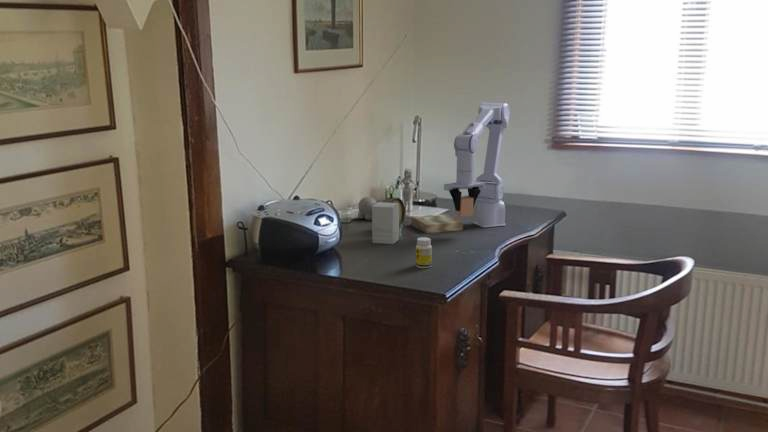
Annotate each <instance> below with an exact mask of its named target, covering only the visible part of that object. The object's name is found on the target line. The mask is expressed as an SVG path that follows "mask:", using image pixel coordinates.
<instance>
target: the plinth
mask: <svg viewBox="0 0 768 432" xmlns="http://www.w3.org/2000/svg"><path fill="white" fill-rule="evenodd" d="M463 224H464V221H462V220H460V219H458V218H456V217H454V216H452V215H449V214H448V213H439V214H429V215H418V216H417V215H416V216H411V217H410V225H411V226H412V227H414V228H416V229H418V230H420V231H421V232H423V233H425V234H436V233H443V232H445V233H447V232H455V231H463V230H464V229H463V228H464V225H463Z"/></svg>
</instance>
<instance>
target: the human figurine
mask: <svg viewBox="0 0 768 432" xmlns="http://www.w3.org/2000/svg"><path fill="white" fill-rule="evenodd" d="M403 175H404V177H403V178H402V180H401V181H400V182H399V183H398V184H397V185H396V186H394V187H393V188H394V190H396V189H397V188H398V187H399V186H400V185H401V184H403V185H404V186H403V189H402V197H403V201H404V202H403V204H404V208H405V216H406V217H410V214H411V211H410V210H411V199H412V193H413V189H412V188H411V187H410V184H411V183H412V184H413V185H414V187H416V188H417V189H418V190H419V192H420V193H423V190H422V189H421V188H420V187H419V186H418V184H416V183H415V181H414V180H413V179H412V178H413V177H412V170H411V168H404V174H403ZM407 205H408V206H407ZM407 212H408V213H407Z"/></svg>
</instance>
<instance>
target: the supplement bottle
mask: <svg viewBox="0 0 768 432" xmlns="http://www.w3.org/2000/svg"><path fill="white" fill-rule="evenodd" d="M431 240H432V239H431V238H429V237H424V236H423V237H418V238H417V239H416V245H415V266H416V268H419V269H428V268H429V267H430V268H431V267H432V266H433V264H432V263H433V259H432V257H433V256H432V255H433V254H432V253H433V247H432V246H433V245H431V242H432V241H431Z"/></svg>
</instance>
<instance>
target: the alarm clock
mask: <svg viewBox="0 0 768 432" xmlns="http://www.w3.org/2000/svg"><path fill="white" fill-rule="evenodd" d="M391 188H392V192H390V190H391ZM394 188H395V187H394V186H393V185H391V186H389V188H388V194H389V197H386V198H384V200H382V201H383V202H386V203H399V229H402V227H401V226H402V225H403V223H404V220H405V216H406V215H405V208H404V202H403V200H402V199H401V198H399V197H394V195H393V194H394V191H395V189H394Z"/></svg>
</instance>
